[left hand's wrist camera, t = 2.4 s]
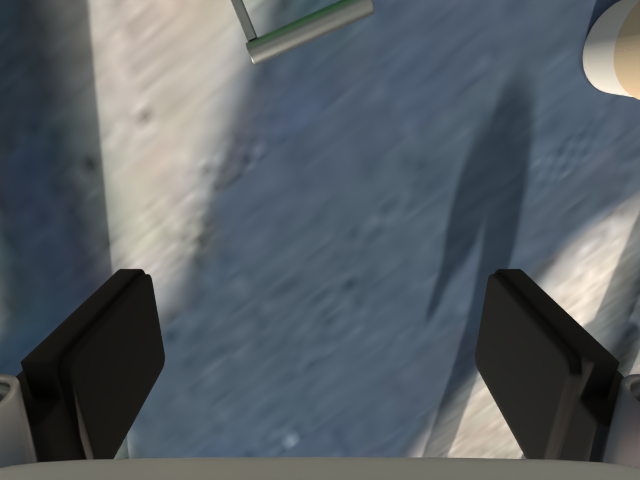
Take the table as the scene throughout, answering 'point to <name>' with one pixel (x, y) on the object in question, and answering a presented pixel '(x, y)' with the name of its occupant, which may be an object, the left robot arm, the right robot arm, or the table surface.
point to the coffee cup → (615, 50)
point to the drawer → (300, 28)
